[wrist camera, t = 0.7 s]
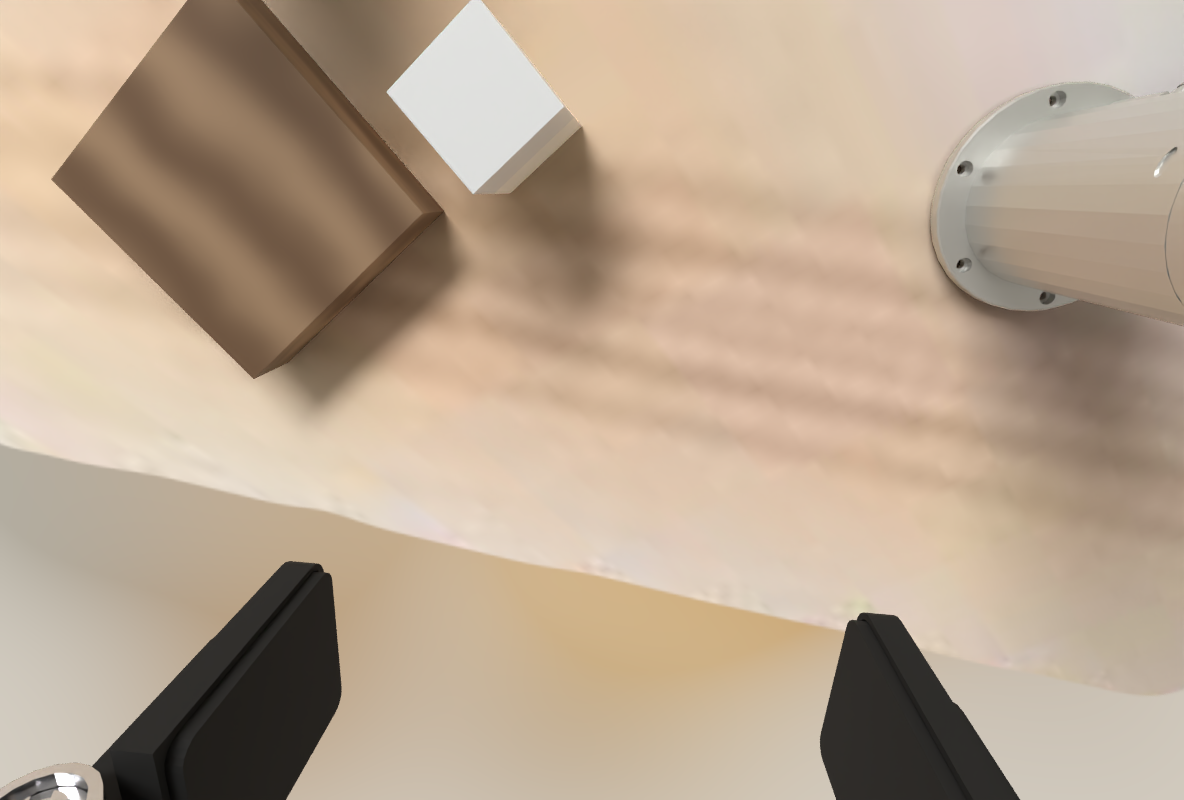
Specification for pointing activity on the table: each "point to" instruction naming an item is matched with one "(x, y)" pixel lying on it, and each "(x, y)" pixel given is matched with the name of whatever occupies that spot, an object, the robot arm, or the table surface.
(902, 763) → the robot arm
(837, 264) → the table surface
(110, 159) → the walnut stand
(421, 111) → the white rectangular block
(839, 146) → the table surface
